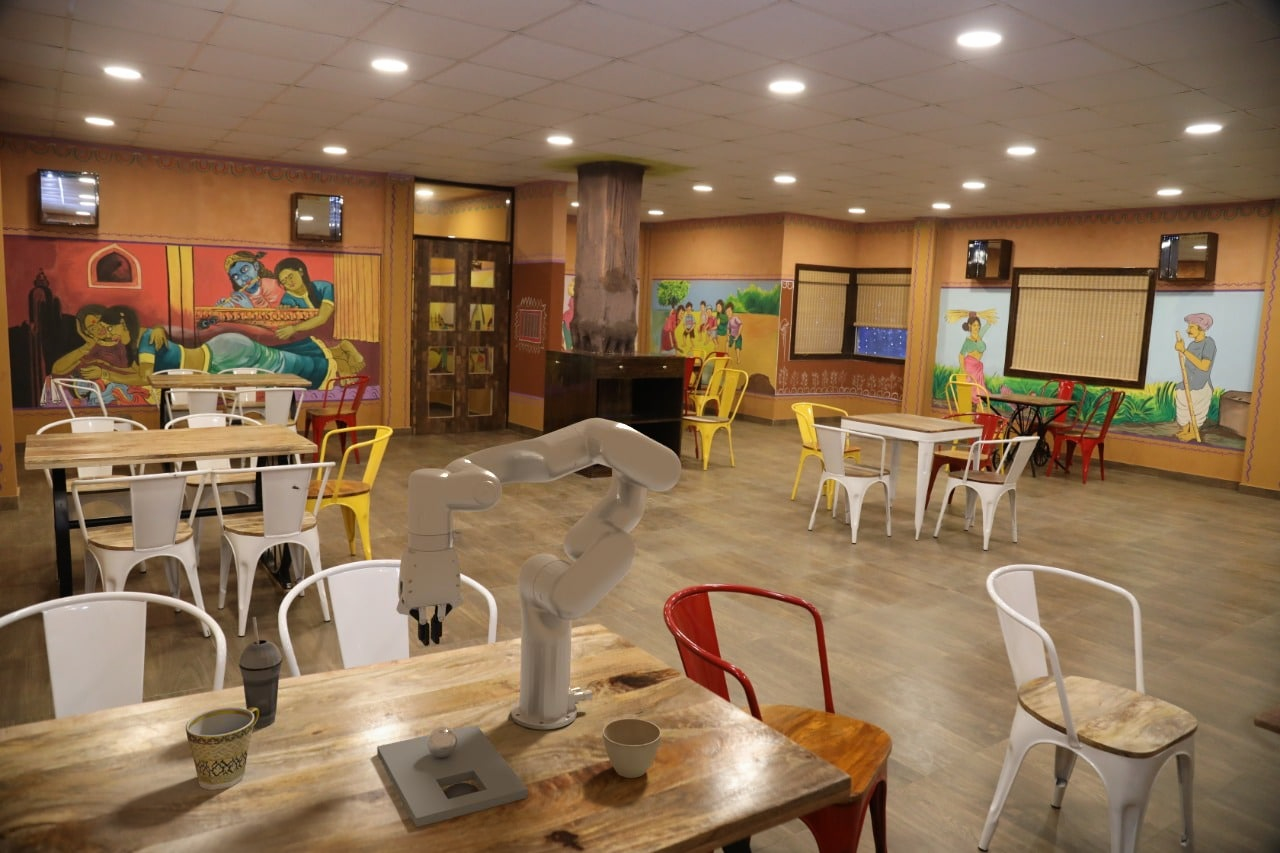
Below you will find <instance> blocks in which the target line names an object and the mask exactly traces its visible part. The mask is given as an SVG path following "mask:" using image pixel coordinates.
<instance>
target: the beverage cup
mask: <svg viewBox="0 0 1280 853" xmlns="http://www.w3.org/2000/svg"><path fill="white" fill-rule="evenodd" d="M252 622H253V624H252V625H253V632H254V638H255V639H254V640H255V641H253V642H251V643H249V644H248V645H247V646H246V647H245V648H244V649H243V650H242V654H241V655H240V659H239V663H238V664H239V665H238V666H239V668H240V674H241V677H242V682H243V690H244V692H243V693H244V698H245V707H246V708H245V709H248V708H251V707H255V708H257V709H258V710H259V717H258V720H257V722H256V723H255V725H254V726H253V728H256V729H257V728H259V729H261V728H266V727H268V726H271V725H273V724H274V723H275V722H276V717H277V716H276V714H277V705H278V694H279V680H280V672H281V668H282V662H283V658H282V654H281V651H280V649H279V647H278V646H277V645H276V644H275V643H274V642H272V641H269V640H266V639H259V633H258V625H257V617H256V616H254V617H252ZM253 714H254V718H255V715H256V712H255V711H254V712H253Z"/></svg>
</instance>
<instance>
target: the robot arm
mask: <svg viewBox="0 0 1280 853" xmlns="http://www.w3.org/2000/svg"><path fill="white" fill-rule="evenodd" d="M597 464H599V465H602V466H605V467H607V468H611V472H612V473H611V481H610V486H609V489H608V491H607V492H606V494H605V495H604V496H603V498H601V499H600V500H599V501H598V502H597V504H596V505H595V506H593V507H592V508H591V509H590V510H589V511H588V512H587V513H585V515H584V516H582V517H581V518H580V519H579V520H578V521H577V522H576V523H575V524H574V525H572V526H571V528H570V529H569V530H568V531H567V533H566V534H565V536H564V539H563V544H562V545H563V550H564V552H565V554H566V556H567V557H568V558H569V559H570V560H572V561H573V563H572V564H571V563H570V562H568V561H567V560H565V559H563V558H561V557H559V556H557V555H554V554H551V553H545V552H544V553H537V554H533V555H532V556H530V557H529V558H528V559H527V560H526V561H525V562H524V563H523V565H522V566H521V568H520V570H519V573H518V579H517V588H518V589H517V590H518V596H519V604H520V614H521V616H520V617H521V631H520V632H521V636H520V676H519V677H520V680H519V700H518V701H516V703H514V705H513V706H512V708H511V718H512V720H513V721H514V722H515V723H516V724H518V725H520V726H522V727H525V728H528V729H532V730H545V731H546V730H554V729H559V728H563V727H565V726H567V725H569V724H571V723H573V722H574V721H575V720H576V718H577V716H578V707H577V706H576V705H577V704H579V702H585V701H590V700H592V699H593V692H592V690H591V689H586V690H581V687H579V686H577V687H573V688H571V659H572V656H571V655H572V654H571V653H572V652H571V651H572V628H573V627H572V621H573V620H574V621H575V620H578V619H579V618H582V617H583V616H585V615H586V614H587V613H589V612H590V611H591V610H592V609H593V608H594V607H596V606H597V605H598V604H599V603H600V602H601V601H602V600H603V599H604V597H606V596H607V595H608V593H610V592H611V591H612V590H613V589H614V588H615V587H616V586H617V585H618V584H619V583H620V582H621V581H622V580H623V579H624V578H625V577H626V576H627V574H628V573H629V571H630V570H631V569H632V566H633V565H634V562H635V558H636V544H635V542H634V539H633V537H632V536H631V535H630V533H631V532H632V530H633V529H634V528H635V527H636V526H637V525H638V524H639V523H640V521H641V519H642V517H643V516H644V513H645V510H646V505H647V504H646V503H647V497H648V496H647V495H648V493H647V491H648V490H650V491H652V492H653V491H654V492H665V491H669V490H670V489H672V488H674V487H675V486H676V485H677V483H678V482H679V481H680V479H681V475H682V464H681V460H680V458H679V456H678V455H677V454H676V453H675V451H673V450H672V449H671V448H669V447H668V446H666V445H663V444H662V443H660V442H658V441H656V440H655V439H653V438H650V437H649V436H647V435H645V434H643V433H641V432H640V431H638V430H636V429H634V428H633V427H631V426H628V425H627V424H624V423H622V422H617V421H614V420H609V419H605V418H601V417H594V418H588V419H584V420H581V421H579V422H575V423H572V424H570V425H568V426H566V427H563V428H560V429H557V430H555V431H552V432H549V433H546V434H543V435H541V436H537V437H535V438H531V439H524V440H520V441H515V442H512V443H511V442H510V443H506V444H501V445H496V446H492V447H488V448H484V449H481V450H477V451H476V452H473V453H470V454H467V455H465V456H461V457H459V458H457V459H454V460H452V461H451V462H450V463H448V464H447V465H446V466H445V467H444V468H443V469H442V468H433V467H432V468H421V469H420V468H419V469H416V470H414V471H412V472H411V473H410V474H409V476H408V484H407V485H408V498H407V499H408V501H407V502H408V507H407V508H408V511H407V512H408V515H407V516H408V519H407V520H408V524H407V526H408V528H407V530H408V533H407V534H408V535H407V541H408V542H407V544H408V546H406V547H404V548H403V549H402V553H401V558H400V565H399V566H400V567H399V574H398V575H399V576H398V585H397V586H398V587H397V589H398V590H397V595H398V596H397V597H398V602H397V606H396V612H397V613H398V614H400V615H404V616H411V618H413V619H415V621H416V622H417V639H418V641H420V642H421V643H422V645H424V647H429V645H430V644H431V642H430V640H431V641H432V642H433V644H434V645H440V644H441V642H440V641H441V640H440V638H442V637H443V622H444V621H445V620H446V617H447V616H448V615H449V614H450V612H451V611H452V610H454V609H456V608H458V607H461V606H463V604H464V599H463V598H462V578H461V568H460V559H459V554H458V550H457V546H456V545H455V541H457V540H459V539H461V538H462V534H461V531H459V530H458V531H456V530H455V529H454V511H455V512H456V511H457V512H458V511H459V512H473V513H475V512H476V513H477V512H484V511H487V510H490V509H491V508H494V507H495V506H496V505H497V504H498V503H499V501H500V499H501V497H502V494H503V493H502V492H503V488H502V487H503V486H502V485H504V484H509V483H510V484H511V483H512V484H513V483H531V484H532V483H535V484H537V483H538V484H540V483H548V482H549V483H550V482H553V481H555V480H558V479H561V478H563V477H565V476H567V475H570V474H573V473H575V472H578V471H580V470H583V469H585V468H588V467H591V466H593V465H597ZM428 607H433V615H432V617H431V618H430V623H429V622H428V618H427V608H428Z"/></svg>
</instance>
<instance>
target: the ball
mask: <svg viewBox="0 0 1280 853" xmlns="http://www.w3.org/2000/svg"><path fill="white" fill-rule="evenodd" d="M453 730H454V729H452V728H451V727H448V726H439V727H436V728H435V729H433V730H432V731H431V732H430V733H429V737H428V741H427V746H428V749H429V751H430V753H431V754H432V755H434V756H435V757H439V758H444V757H447V756H449V755H451V754H452V753H453V752H454V750H455V748H456V746H457V736H456V734H455V732H454V731H453Z"/></svg>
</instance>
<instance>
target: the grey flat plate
mask: <svg viewBox="0 0 1280 853" xmlns="http://www.w3.org/2000/svg"><path fill="white" fill-rule="evenodd" d="M452 730H453V731H454V732H455V734H456V736H457V746H456V748H455V750H454V752H453V753H452V754H451V755H449V756H447V757H444V758H439V757H435V756H434V755H432V754H431V753H430V751H429V749H428V746H427V741H428V737H429V735H430V734H429V735H423V736H420V737H414V738H410V739H404V740H400V741H396V742H391V743H386V744H382V745H377V748H376V749H377V750H376V751H377V752H376V753H377V754H376V755H377V757H378V758H379V760H380V763H381V764H382V766H383V769H385V771H386V773H387V775H388V777H389V779H390V781H391V784H392V785H393V787H394V788H395V791H396V792H397V794H398V796H399V797H400V800H401V802H402V803H403V805H404V807H405V809H406V811H407V813H408V814H409V817H410V818H411V821H412V822H413V824H414V826H415V828H420V827H424V826H427V825H431V824H435V823H438V822H442V821H447V820H449V819H453V818H457V817H461V816H465V815H468V814H471V813H476V812H479V811H483V810H487V809H491V808H494V807H499V806H502V805H505V804H510V803H512V802H516V801H517V802H518V801H520V800H523V799H524V800H525V799H528V795H529V793H528V791H529V790H528V788H527V786H526V785H525V783H523V780H521V779H520V777H519V776H518V775H517V774H516V772H515V770H513V768H512V767H511V766H510V765H509V764H508V763H507V761H506V760H505V758H504V757H503V756H502V755H501V754H500V752H499V751H498V750H497V748H496V746H494V745H493V743H492V742H491V741H490V740H489V738H488V736H486V735H485V733H484V732H483V730H481V728H480V727H479V726H478V724H474V725H471V726H466V727H461V728H457V729H456V728H455V729H452ZM471 780H474V781H475V783H476V784H477V786H476V785H475V784H473V783H468V782H466V781H471ZM449 785H450V786H449ZM446 786H448V787H446ZM442 787H446V788H445V790H443V789H442ZM478 787H479V788H478ZM479 789H480V790H479Z"/></svg>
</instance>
